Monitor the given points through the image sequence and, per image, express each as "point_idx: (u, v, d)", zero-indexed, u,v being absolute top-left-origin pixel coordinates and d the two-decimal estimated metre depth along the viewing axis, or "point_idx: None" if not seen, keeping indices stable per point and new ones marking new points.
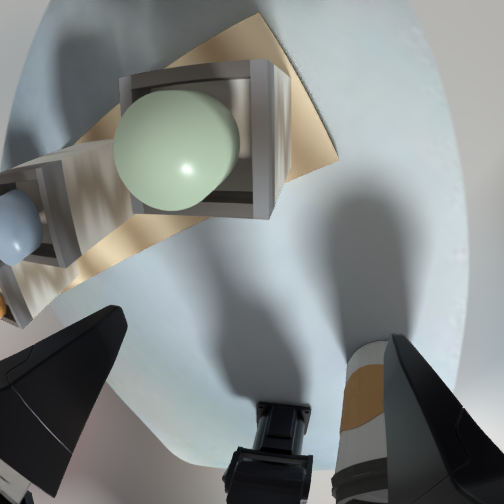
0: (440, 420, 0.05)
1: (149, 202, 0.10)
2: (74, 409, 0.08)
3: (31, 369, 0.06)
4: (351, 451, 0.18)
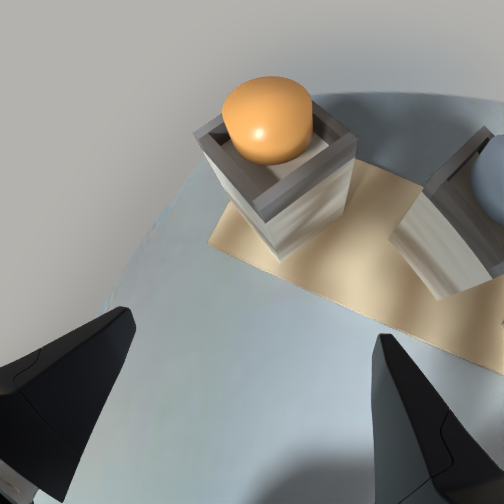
0: (425, 422, 0.05)
1: None
2: (83, 413, 0.08)
3: (39, 373, 0.06)
4: None
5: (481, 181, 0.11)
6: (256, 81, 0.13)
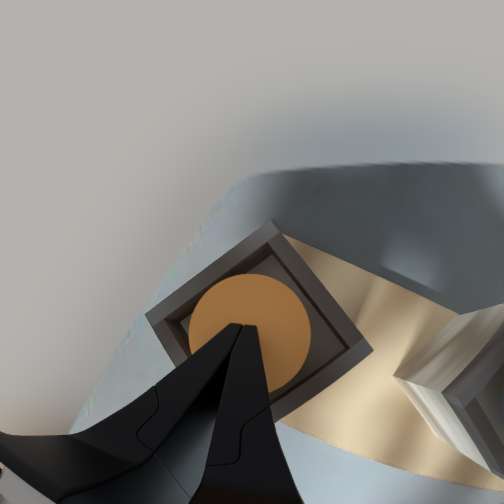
0: (238, 413, 0.06)
1: None
2: (203, 453, 0.07)
3: (174, 423, 0.05)
4: None
5: None
6: (235, 282, 0.10)
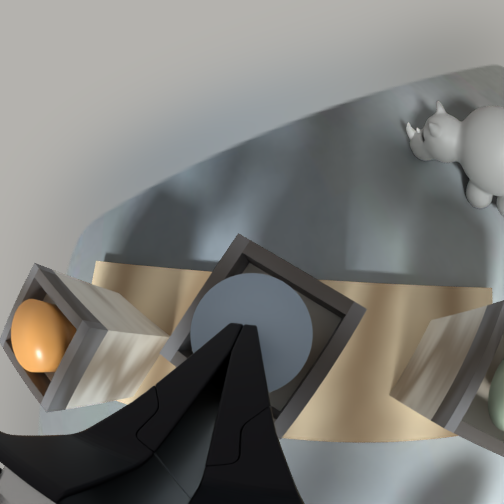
0: (238, 413, 0.06)
1: None
2: (203, 453, 0.07)
3: (174, 423, 0.05)
4: None
5: None
6: (21, 307, 0.14)
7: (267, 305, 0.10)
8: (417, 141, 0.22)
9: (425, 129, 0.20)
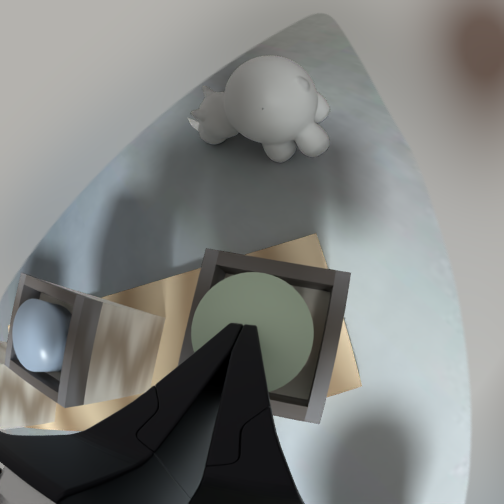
0: (238, 414, 0.06)
1: None
2: (203, 453, 0.07)
3: (174, 423, 0.05)
4: None
5: None
6: None
7: (34, 315, 0.13)
8: (201, 130, 0.26)
9: None
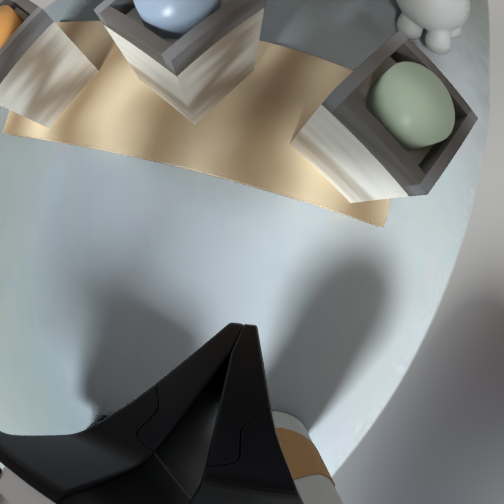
0: (238, 413, 0.06)
1: (392, 108, 0.11)
2: (203, 453, 0.07)
3: (174, 423, 0.05)
4: None
5: None
6: None
7: None
8: None
9: None
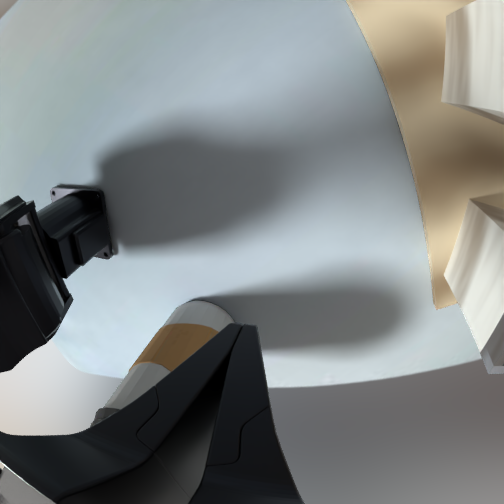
0: (238, 414, 0.06)
1: None
2: (203, 453, 0.07)
3: (174, 423, 0.05)
4: None
5: None
6: None
7: None
8: None
9: None
